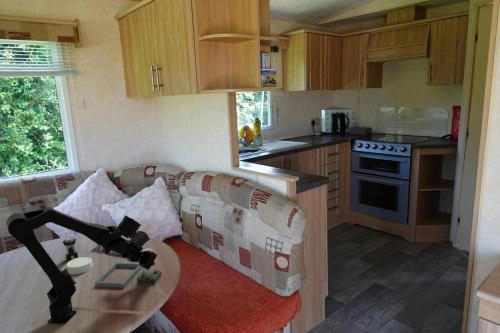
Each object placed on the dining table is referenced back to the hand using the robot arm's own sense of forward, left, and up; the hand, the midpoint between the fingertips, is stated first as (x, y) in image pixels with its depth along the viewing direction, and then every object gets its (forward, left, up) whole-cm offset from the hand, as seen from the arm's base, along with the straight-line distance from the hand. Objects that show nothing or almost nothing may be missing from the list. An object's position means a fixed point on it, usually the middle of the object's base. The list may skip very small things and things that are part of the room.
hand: (151, 262), depth 137 cm
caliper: (+23, +32, -8) cm, 40 cm away
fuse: (-1, +1, -6) cm, 6 cm away
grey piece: (-1, +1, -7) cm, 7 cm away
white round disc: (+6, +36, -7) cm, 37 cm away
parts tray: (0, +14, -7) cm, 15 cm away
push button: (+14, +46, -7) cm, 48 cm away
